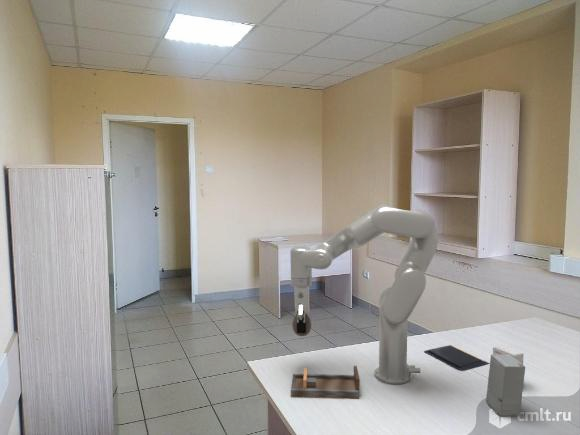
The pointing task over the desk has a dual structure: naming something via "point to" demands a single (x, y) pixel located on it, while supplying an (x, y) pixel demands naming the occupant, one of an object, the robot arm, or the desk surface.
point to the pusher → (308, 380)
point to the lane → (327, 386)
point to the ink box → (508, 352)
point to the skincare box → (505, 384)
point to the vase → (308, 325)
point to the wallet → (456, 358)
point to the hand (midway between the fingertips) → (301, 328)
